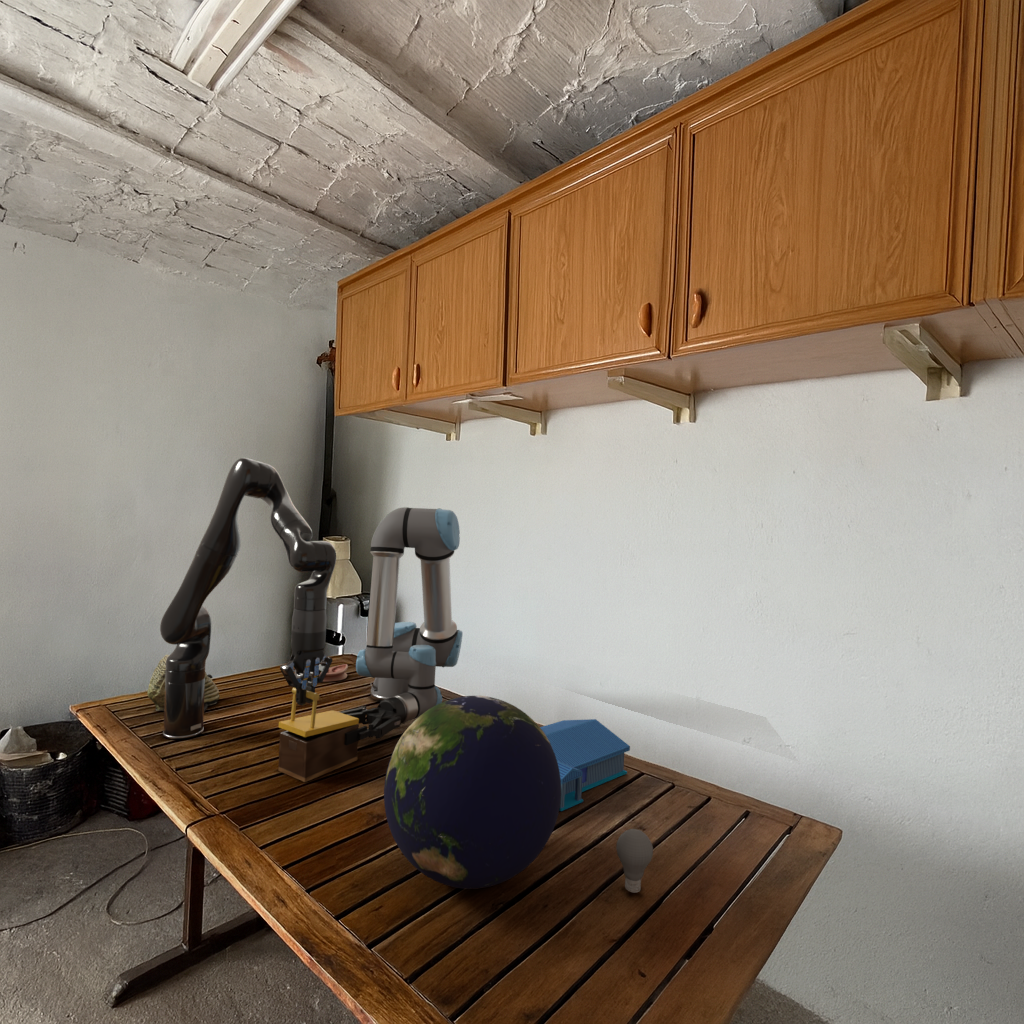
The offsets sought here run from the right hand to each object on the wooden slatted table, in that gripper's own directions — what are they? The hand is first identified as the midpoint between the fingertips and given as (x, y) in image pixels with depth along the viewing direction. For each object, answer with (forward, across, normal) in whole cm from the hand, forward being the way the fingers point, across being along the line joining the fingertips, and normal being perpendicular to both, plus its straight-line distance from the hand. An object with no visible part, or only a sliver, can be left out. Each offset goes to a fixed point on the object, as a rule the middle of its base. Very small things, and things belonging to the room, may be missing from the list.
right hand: (331, 734), depth 152 cm
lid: (+4, 0, +3) cm, 5 cm away
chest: (+3, 0, -6) cm, 7 cm away
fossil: (+1, +62, -6) cm, 62 cm away
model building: (-22, -46, -6) cm, 52 cm away
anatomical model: (-45, +54, -6) cm, 71 cm away
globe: (+16, -54, -6) cm, 57 cm away
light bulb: (+4, -79, -6) cm, 79 cm away
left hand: (+8, 0, +10) cm, 12 cm away
